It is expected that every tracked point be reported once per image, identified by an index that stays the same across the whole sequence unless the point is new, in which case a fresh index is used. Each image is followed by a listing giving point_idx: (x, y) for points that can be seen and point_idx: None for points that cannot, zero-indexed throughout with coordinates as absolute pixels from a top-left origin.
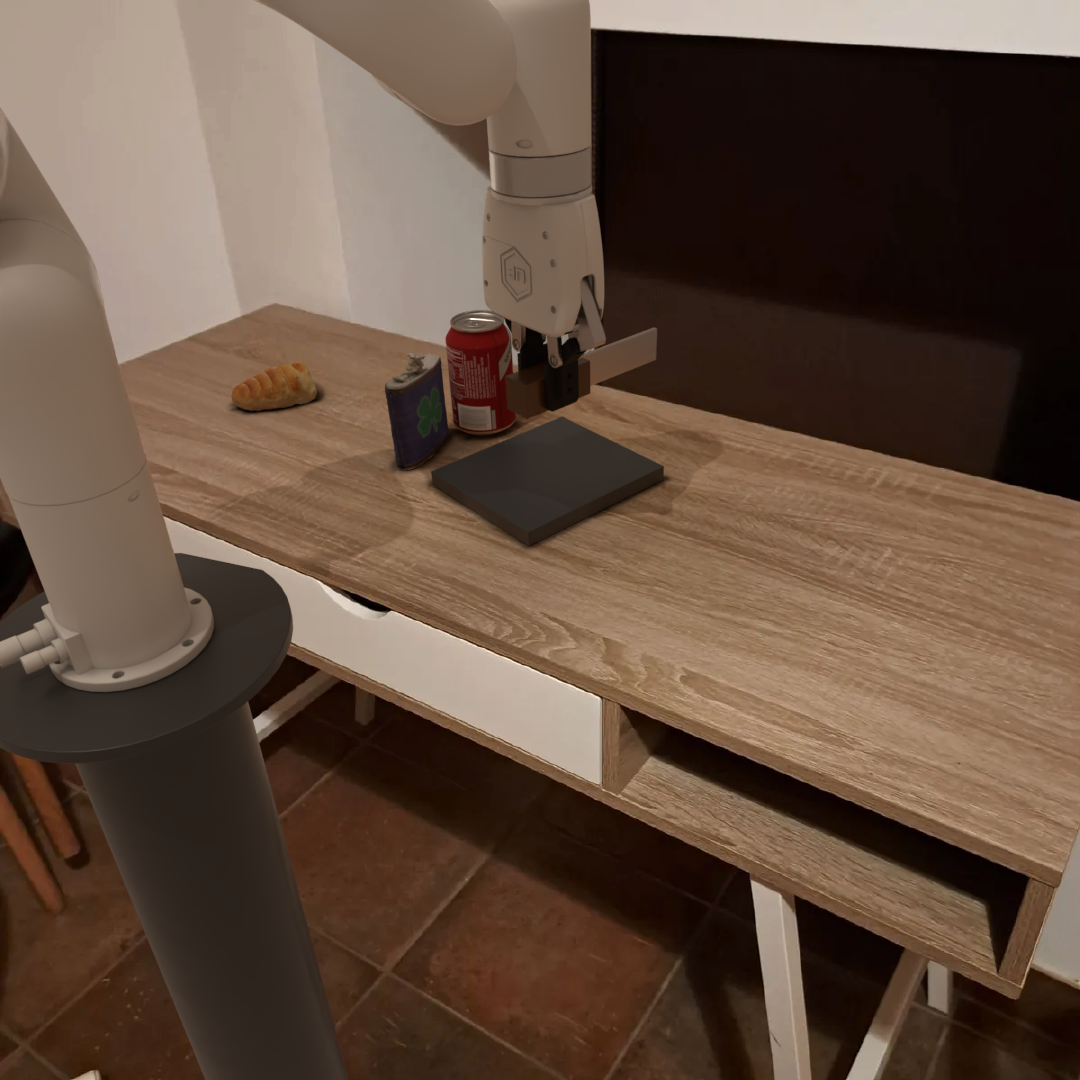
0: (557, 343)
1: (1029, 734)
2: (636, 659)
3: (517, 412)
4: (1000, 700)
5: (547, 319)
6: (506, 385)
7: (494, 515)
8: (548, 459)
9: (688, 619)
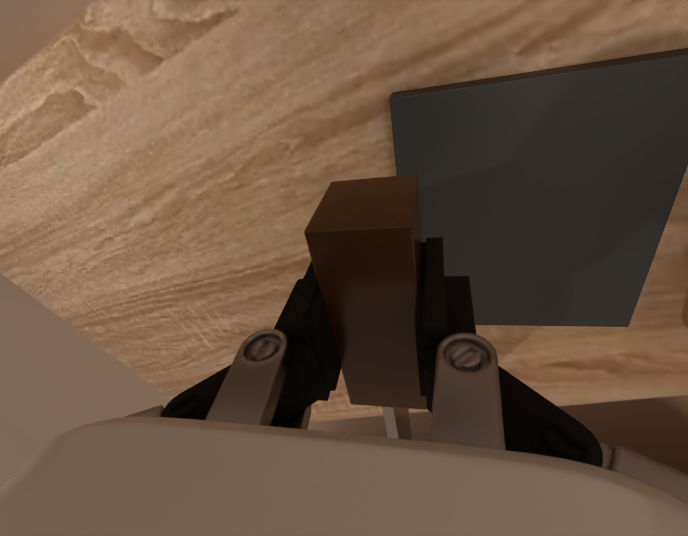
0: (212, 404)
1: (4, 260)
2: (116, 70)
3: (368, 180)
4: (36, 272)
5: (51, 498)
6: (407, 208)
7: (484, 82)
8: (543, 243)
9: (169, 165)
